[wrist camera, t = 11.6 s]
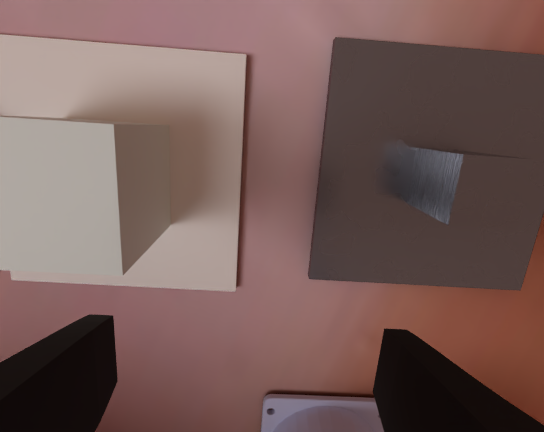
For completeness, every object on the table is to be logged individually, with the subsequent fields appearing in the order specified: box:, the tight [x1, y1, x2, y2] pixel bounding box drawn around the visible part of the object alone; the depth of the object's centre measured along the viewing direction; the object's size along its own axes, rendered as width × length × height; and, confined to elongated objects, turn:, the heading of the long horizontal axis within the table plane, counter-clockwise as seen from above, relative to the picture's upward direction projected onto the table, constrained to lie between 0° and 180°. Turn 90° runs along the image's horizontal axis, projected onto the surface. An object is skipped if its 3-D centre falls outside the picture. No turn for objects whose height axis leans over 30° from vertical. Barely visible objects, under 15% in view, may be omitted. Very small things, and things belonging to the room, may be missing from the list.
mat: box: [0, 34, 247, 292], centre depth 16 cm, size 12×12×1 cm
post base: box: [308, 37, 544, 290], centre depth 15 cm, size 12×12×4 cm
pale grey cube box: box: [0, 115, 171, 276], centre depth 13 cm, size 5×5×6 cm
